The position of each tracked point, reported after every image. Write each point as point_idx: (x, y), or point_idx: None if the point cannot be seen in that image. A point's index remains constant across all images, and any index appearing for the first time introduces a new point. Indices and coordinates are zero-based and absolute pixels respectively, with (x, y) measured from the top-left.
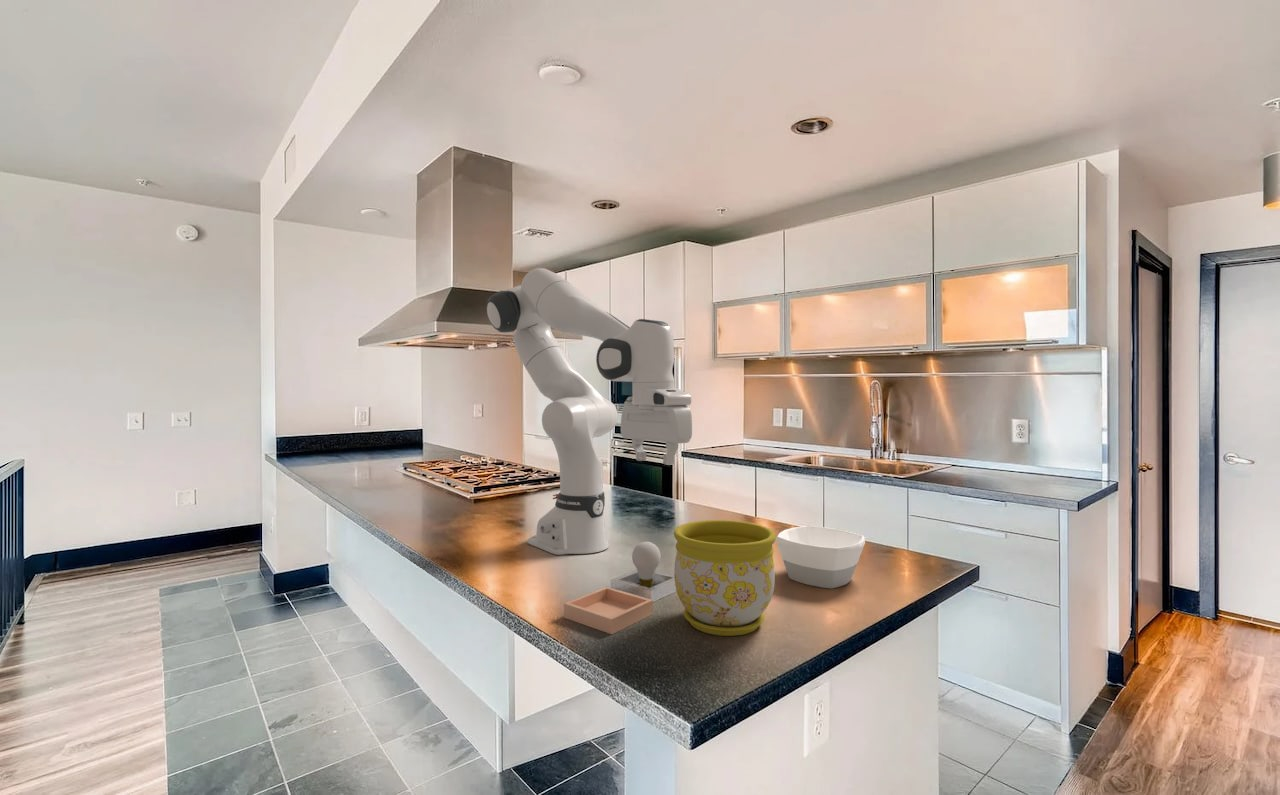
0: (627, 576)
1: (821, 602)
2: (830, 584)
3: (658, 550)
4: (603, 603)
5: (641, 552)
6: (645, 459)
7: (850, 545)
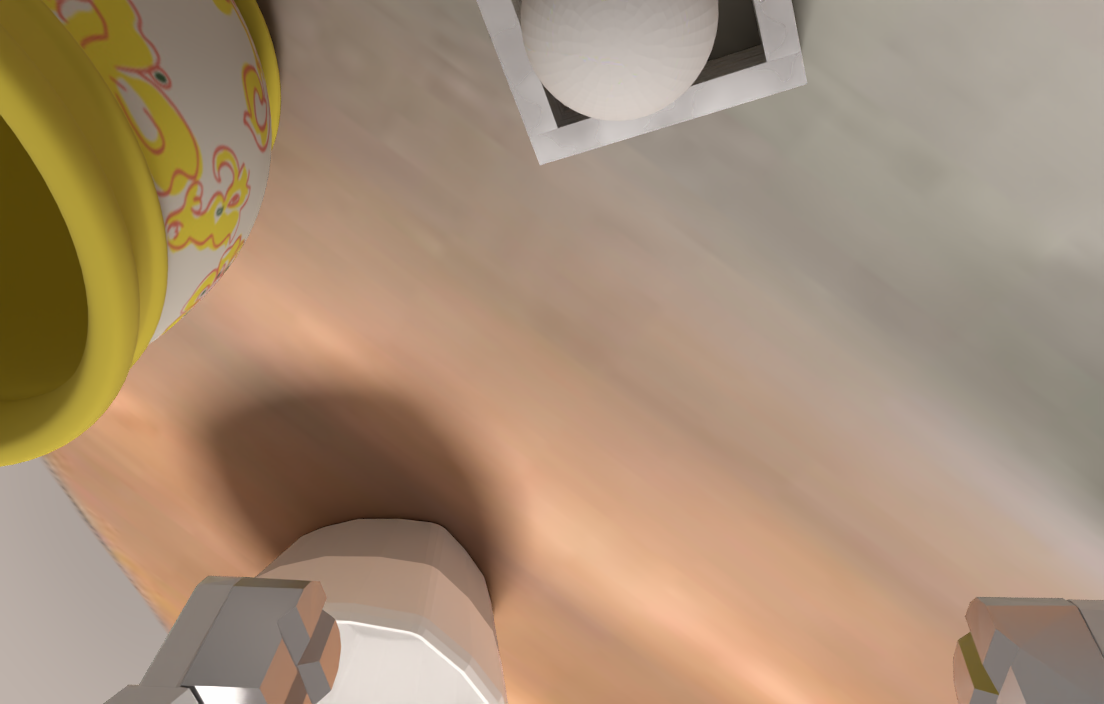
0: None
1: (207, 442)
2: (290, 546)
3: (551, 91)
4: None
5: None
6: (954, 674)
7: None
